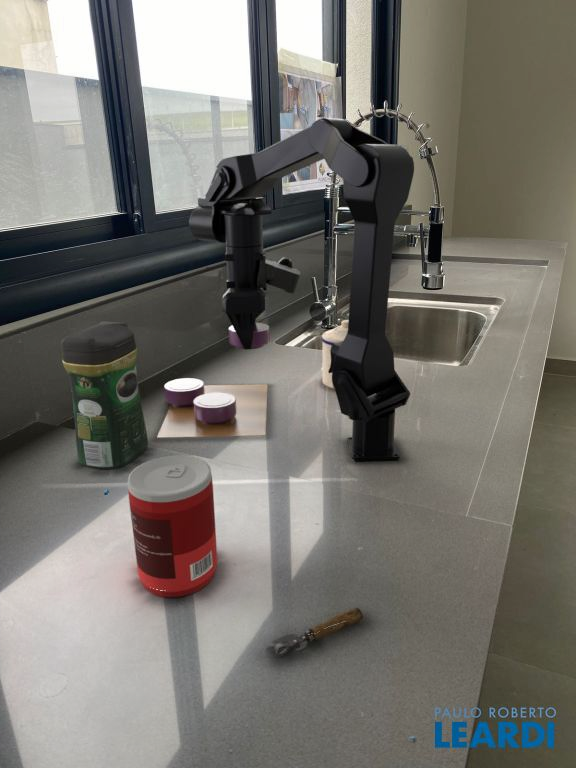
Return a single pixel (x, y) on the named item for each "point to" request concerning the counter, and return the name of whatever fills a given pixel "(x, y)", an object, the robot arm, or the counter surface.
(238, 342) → the purple puck
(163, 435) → the placemat
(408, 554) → the counter surface
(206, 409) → the plum dish bottom
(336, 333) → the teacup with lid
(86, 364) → the coffee jar
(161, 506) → the canned food
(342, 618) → the can opener
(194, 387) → the purple hockey puck
